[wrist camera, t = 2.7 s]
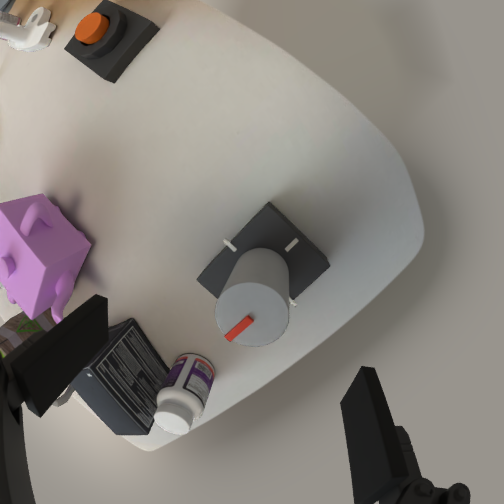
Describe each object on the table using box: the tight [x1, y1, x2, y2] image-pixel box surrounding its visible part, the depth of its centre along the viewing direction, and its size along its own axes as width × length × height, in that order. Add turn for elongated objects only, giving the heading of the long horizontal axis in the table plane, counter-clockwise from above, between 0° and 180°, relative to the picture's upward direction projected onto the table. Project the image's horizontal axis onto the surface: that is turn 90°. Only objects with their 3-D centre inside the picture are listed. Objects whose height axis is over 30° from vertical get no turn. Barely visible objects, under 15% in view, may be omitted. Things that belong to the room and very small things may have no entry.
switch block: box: [64, 0, 160, 83], centre depth 21 cm, size 10×8×4 cm
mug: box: [0, 307, 75, 407], centre depth 31 cm, size 16×11×12 cm
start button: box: [75, 12, 109, 44], centre depth 19 cm, size 4×4×2 cm
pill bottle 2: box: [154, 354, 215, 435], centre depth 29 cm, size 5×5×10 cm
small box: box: [70, 319, 170, 435], centre depth 29 cm, size 11×6×10 cm, turn 27°
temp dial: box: [215, 248, 289, 347], centre depth 22 cm, size 5×5×8 cm
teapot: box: [0, 194, 91, 324], centre depth 26 cm, size 15×13×11 cm
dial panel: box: [197, 202, 330, 307], centre depth 27 cm, size 10×9×3 cm
